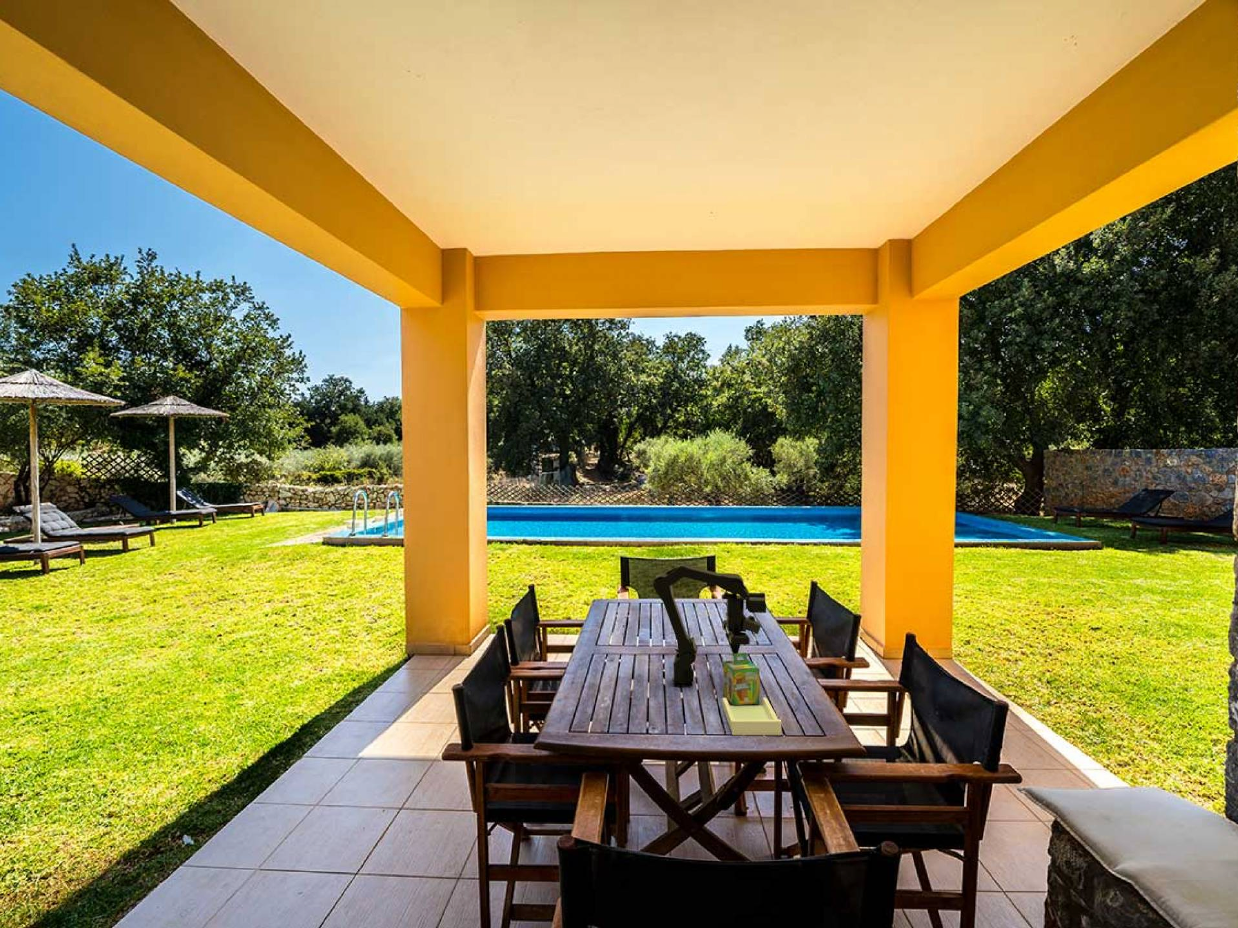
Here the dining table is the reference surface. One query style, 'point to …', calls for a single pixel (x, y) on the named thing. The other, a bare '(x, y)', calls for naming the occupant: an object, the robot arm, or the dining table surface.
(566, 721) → the dining table surface
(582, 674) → the dining table surface
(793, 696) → the dining table surface
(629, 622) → the dining table surface
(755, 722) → the pale yellow tray
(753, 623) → the robot arm
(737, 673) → the chalk box
